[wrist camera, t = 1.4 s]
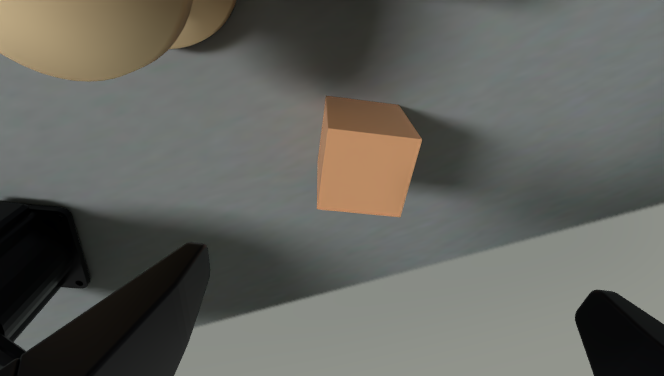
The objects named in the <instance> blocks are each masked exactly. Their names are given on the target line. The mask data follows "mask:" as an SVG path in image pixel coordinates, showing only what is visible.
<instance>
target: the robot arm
mask: <svg viewBox="0 0 664 376" xmlns="http://www.w3.org/2000/svg"><path fill="white" fill-rule="evenodd" d="M60 215H61V216H62V217H61V216H60ZM209 277H210V263H209V254H208V248H207V245H205V244H202V243H193V242H189V243H186V244H184V245H183V246H182V247H180V248H179V249H177V250H176V251H174V252H173V253H171V254H170V255H168V256H167V257H165V258H164V259H162V260H161V261H159V262H158V263H156V264H155V265H153V266H152V267H151V268H149V269H148V270H146V271H145V272H143V273H142V274H140V275H139V276H137V277H136V278H134V279H133V280H131V281H130V282H128V283H127V284H125V285H124V286H122V287H121V288H120V289H118V290H117V291H115V292H114V293H112V294H111V295H109V296H108V297H106V298H105V299H103V300H102V301H100V302H99V303H97V304H96V305H94V306H93V307H91V308H90V309H89V310H87V311H86V312H84V313H83V314H81V315H80V316H78V317H77V318H75V319H74V320H72V321H71V322H69V323H68V324H66V325H65V326H63V327H62V328H60V329H59V330H58V331H56V332H55V333H53V334H52V335H50V336H49V337H47V338H46V339H44V340H43V341H41V342H40V343H38V344H37V345H35V346H34V347H32V348H31V349H29V350H28V351H27V352H26V351H25V350H24V349H22V348H21V347H19V346H18V345H17V344H15V343H14V341H15V340H16V338H17V337H18V336H19V335H20V334H21V333H22V331H23V330H24V329H25V328H26V327H27V326H28V325H29V323H30V322H31V321H32V320H33V319H34V318H35V316H36V315H37V314H38V313H39V312H40V311H41V310H42V308H43V307H44V306H45V305H46V304H47V303H48V301H49V300H50V299H51V298H52V297H53V296H54V294H55V293H56V292H57V291H58V290H59V289H60V288H61V287H68V288H85V287H87V285H88V284H89V283H90V276H89V273H88V270H87V266H86V263H85V259H84V256H83V252H82V249H81V246H80V242H79V239H78V235H77V232H76V228H75V225H74V221H73V218H72V215H71V213H70V212H69V211H68V210H67V209H65V208H61V207H51V206H40V205H28V204H20V203H9V202H0V376H174V374H175V372H176V370H177V368H178V365H179V363H180V361H181V359H182V356H183V354H184V352H185V349H186V347H187V345H188V342H189V339H190V336H191V333H192V330H193V327H194V324H195V321H196V318H197V315H198V312H199V309H200V306H201V302H202V299H203V296H204V293H205V290H206V287H207V284H208V281H209ZM575 321H576V325H577V328H578V331H579V333H580V336H581V339H582V342H583V345H584V348H585V351H586V354H587V357H588V360H589V362H590V365H591V368H592V371H593V374H594V376H664V324H662V323H661V322H659V321H658V320H656V319H655V318H653V317H652V316H650V315H649V314H647V313H646V312H644V311H643V310H641V309H640V308H638V307H637V306H635V305H634V304H632V303H631V302H629V301H628V300H626V299H625V298H623V297H622V296H620V295H619V294H617V293H615V292H612V291H604V290H594V291H592V292H591V293H590V294H589V295H588V297H587V298H586V299H585V300H584V302H583V303H582V304H581V306H580V307H579V308H578V310H577V311H576V314H575Z"/></svg>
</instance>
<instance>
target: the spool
mask: <svg viewBox="0 0 664 376" xmlns="http://www.w3.org/2000/svg"><path fill="white" fill-rule="evenodd" d="M235 4H236V0H0V53H1V54H2V55H4V56H6V57H8V58H9V59H11V60H13V61H15V62H17V63H19V64H21V65H23V66H25V67H28V68H30V69H33V70H35V71H37V72H40V73H43V74H47V75H50V76H53V77H57V78H62V79H68V80H73V81H102V80H108V79H113V78H117V77H120V76H123V75H125V74H128V73H131V72H133V71H135V70H138V69H140V68H142V67H144V66H146V65H148V64H150V63H152V62H153V61H155V60H157V59H158V58H159V57H160V56H162V55H163V54H164V53H165V52H166V51H168V49H175V48H183V47H187V46H191V45H193V44H196V43H198V42H201V41H203V40H205V39H207V38H208V37H210V36H212V35H213V34H214V33H215V32H217V31H218V30H219V29H220V28H221V27H222V26H223V25H224V24H225V22H226V21H227V19H228V18H229V16H230V15H231V13H232V11H233V8H234V6H235Z"/></svg>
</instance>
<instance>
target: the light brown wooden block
mask: <svg viewBox="0 0 664 376" xmlns="http://www.w3.org/2000/svg"><path fill="white" fill-rule="evenodd" d="M421 142H422V138H421V137H420V135H419V134H418V132H417V131H416V130H415V128H414V127H413V125H412V124H411V122H410V121H409V119H408V118H407V116H406V115H405V113H404V112H403V110H402V109H401V107H400V106H399V105H395V104H387V103H379V102H371V101H364V100H356V99H348V98H340V97H332V96H326V100H325V108H324V116H323V124H322V132H321V140H320V148H319V156H318V171H317V209H320V210H330V211H341V212H351V213H362V214H372V215H383V216H393V217H400V216H401V213H402V209H403V206H404V202H405V199H406V195H407V191H408V188H409V184H410V181H411V177H412V174H413V170H414V167H415V163H416V160H417V156H418V153H419V149H420V146H421Z"/></svg>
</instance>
